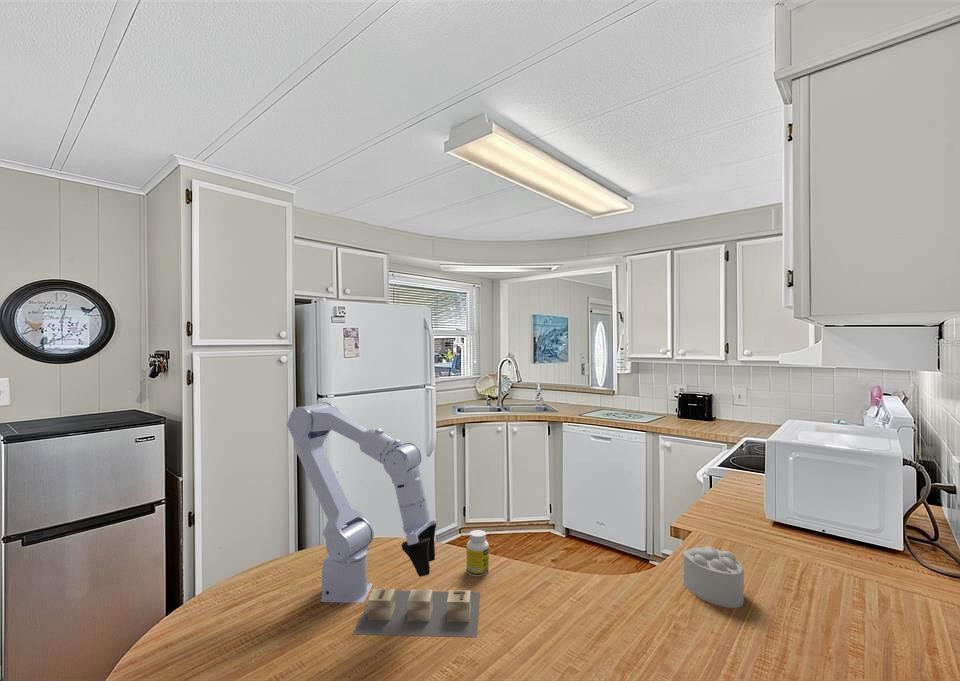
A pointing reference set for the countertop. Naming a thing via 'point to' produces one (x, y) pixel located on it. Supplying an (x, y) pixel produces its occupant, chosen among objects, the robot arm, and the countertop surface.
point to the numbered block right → (459, 606)
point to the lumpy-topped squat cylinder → (714, 576)
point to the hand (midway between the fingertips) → (427, 567)
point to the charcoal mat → (421, 628)
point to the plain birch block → (420, 605)
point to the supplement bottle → (477, 553)
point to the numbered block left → (381, 604)
